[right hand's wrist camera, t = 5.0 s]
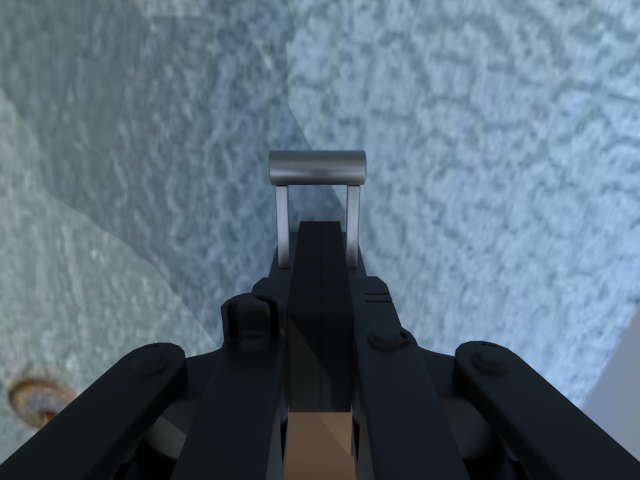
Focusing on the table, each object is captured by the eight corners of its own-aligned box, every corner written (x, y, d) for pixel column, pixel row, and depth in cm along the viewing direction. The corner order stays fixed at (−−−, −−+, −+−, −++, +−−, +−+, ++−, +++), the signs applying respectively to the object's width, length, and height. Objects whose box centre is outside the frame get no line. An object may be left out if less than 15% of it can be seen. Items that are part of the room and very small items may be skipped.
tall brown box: (274, 262, 26) (244, 373, 16) (361, 262, 26) (389, 374, 16) (282, 431, 32) (265, 595, 22) (354, 431, 32) (371, 595, 22)
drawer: (276, 138, 22) (249, 167, 14) (359, 138, 22) (385, 167, 14) (287, 406, 30) (274, 536, 21) (349, 406, 30) (361, 536, 21)
